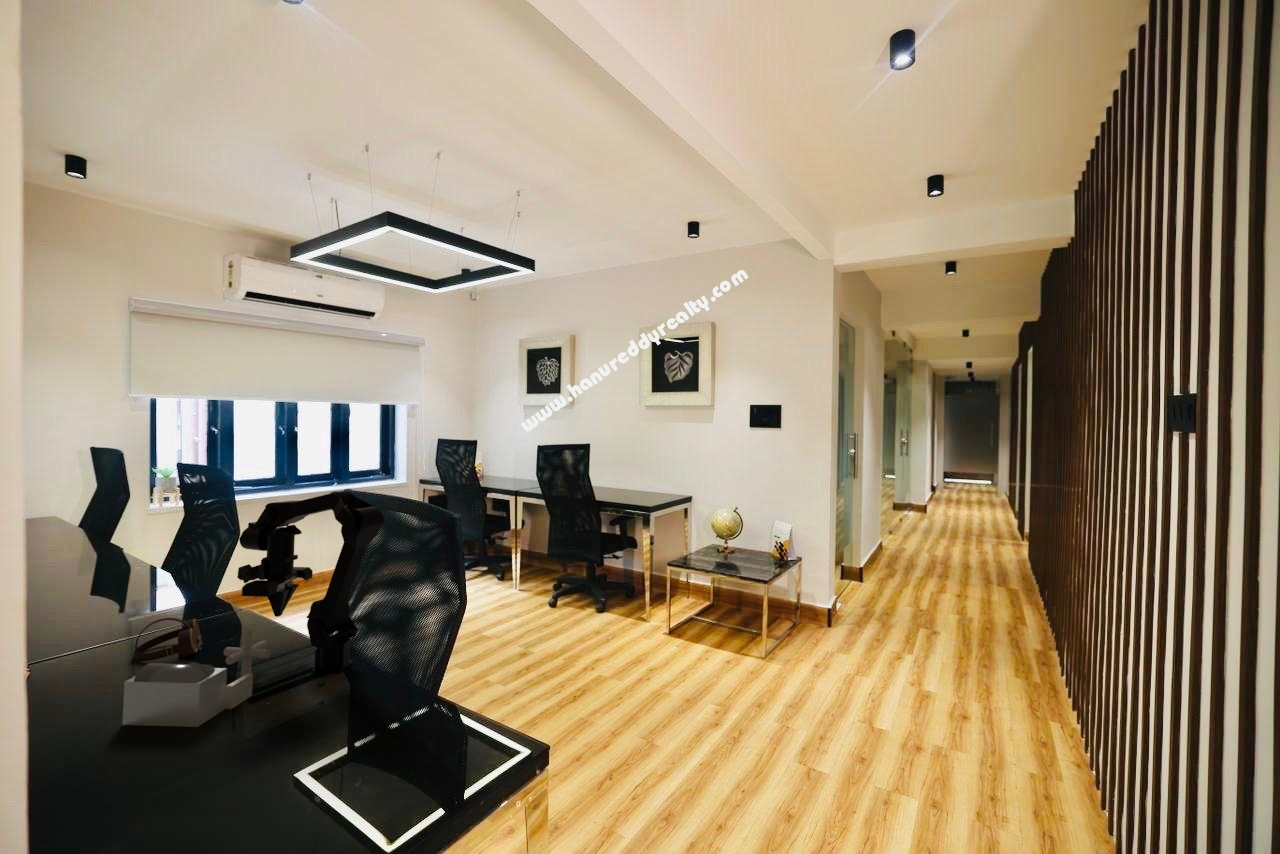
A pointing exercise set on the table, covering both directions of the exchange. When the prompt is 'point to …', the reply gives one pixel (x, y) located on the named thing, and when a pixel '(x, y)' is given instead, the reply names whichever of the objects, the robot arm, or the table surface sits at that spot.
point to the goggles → (185, 639)
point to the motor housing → (180, 694)
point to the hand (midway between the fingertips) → (278, 616)
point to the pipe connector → (246, 652)
